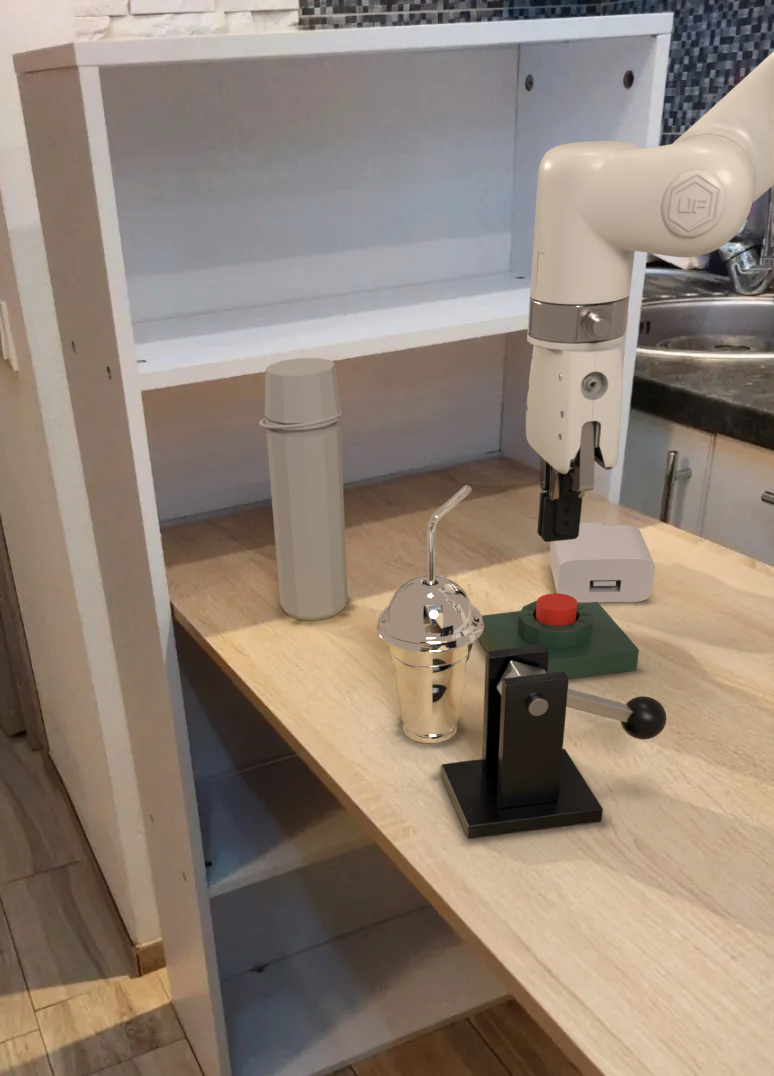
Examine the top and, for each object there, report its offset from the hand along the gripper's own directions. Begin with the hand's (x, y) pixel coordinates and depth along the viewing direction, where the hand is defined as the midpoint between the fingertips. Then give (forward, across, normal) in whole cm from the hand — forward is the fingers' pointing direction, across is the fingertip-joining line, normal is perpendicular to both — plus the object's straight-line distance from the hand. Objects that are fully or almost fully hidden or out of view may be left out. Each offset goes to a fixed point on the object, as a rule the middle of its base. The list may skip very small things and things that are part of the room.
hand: (557, 536), depth 91 cm
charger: (+12, +16, -10) cm, 22 cm away
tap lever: (+5, -21, +6) cm, 22 cm away
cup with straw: (+12, -10, +14) cm, 21 cm away
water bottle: (+12, +16, +20) cm, 29 cm away
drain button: (+8, 0, 0) cm, 8 cm away
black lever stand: (+12, -21, +10) cm, 26 cm away
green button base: (+12, 0, 0) cm, 12 cm away
